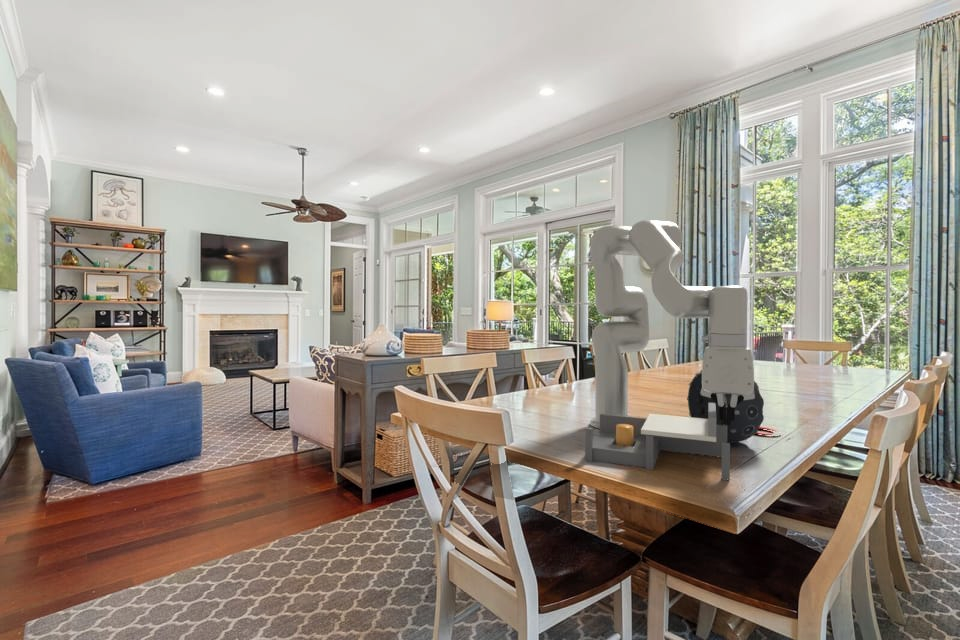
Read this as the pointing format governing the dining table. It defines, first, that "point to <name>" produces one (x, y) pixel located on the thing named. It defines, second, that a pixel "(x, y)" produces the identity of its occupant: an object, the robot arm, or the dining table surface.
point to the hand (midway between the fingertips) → (726, 423)
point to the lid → (682, 426)
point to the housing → (649, 445)
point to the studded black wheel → (745, 412)
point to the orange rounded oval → (624, 435)
